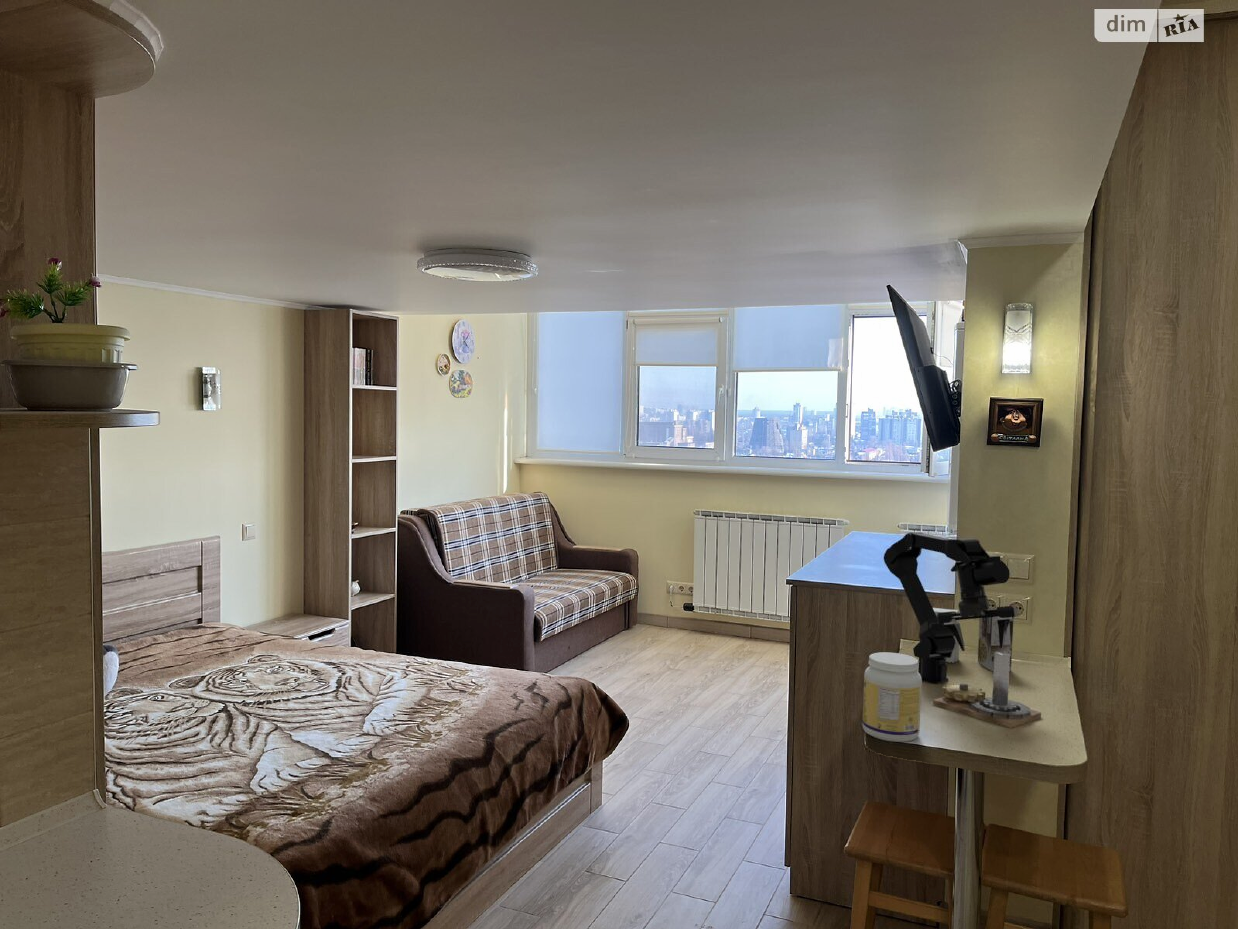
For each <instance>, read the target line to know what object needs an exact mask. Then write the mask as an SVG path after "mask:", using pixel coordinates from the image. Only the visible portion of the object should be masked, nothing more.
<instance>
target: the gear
mask: <svg viewBox="0 0 1238 929" xmlns="http://www.w3.org/2000/svg"><path fill="white" fill-rule="evenodd" d="M1009 664H1010V654H1008V653H1004V652H995V653H994V670H993V676H992V697H991V698H992V699H987V701H986V700H984V701H983V707H985V708H988V709H991V710H995V711H1002V712H1016V710H1017V706H1016V704H1014V703H1010V702H1009V701H1008V700H1009V686H1010V684H1009V682H1010V671H1009Z"/></svg>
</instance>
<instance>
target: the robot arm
mask: <svg viewBox="0 0 1238 929" xmlns="http://www.w3.org/2000/svg"><path fill="white" fill-rule="evenodd" d="M922 549H923V550H927V551H932V552H936V553H942V554H943V555H945V556H946V558H948V559H950V560H951V561H952V560H953V561H955V563H954V565H953V566H952V567H951V568H950V572H952V573H953V572H954V573H955V572H956V573H957V576H958V583H959V590H960V600H959V602H958V605H957V606H958V610H959V613H956V611H951V612H941V613H938V614H937V616H936V614H935V612H934V610H933V608H934V607H933V606H932V603H931V601H930V599H929V597H928V595H927V592H926V591H925V588H924V586H923V584H922V582H921V579H920V577H919V575H918V565H919V562H918V560H917V559H918V558H919V557H920V556H921V554H922ZM883 561H884V565H886V567H887V569H888V571H889V572H890V573H891V574H892V575H893V576H894V577H896V578H897V579H898V580H899V582H900V583H901V585H902V588H903V590H904V593H905V594H906V597H907V599H908V601H909V604H910V605H911V608H912V611H913V612H914V614H915V616H916V619H917V621H918V624H919V626H920V627H919V633H918V637H919V640H920V641H919V642H918V643H917V644H916V645H915V646H914V647H913V648H912V650H913V655H914V656H913V657H915V658H918V666H919V669H918V670H917V672H918V673H919V674H920V675H921V678H922V682H926V683H932V684H935V685H936V684H941V683H944V682H948V681H949V678H948V677H947V675H948V664H947V662H946V659H945V658H950V657H951V655H952V652H953V649H954V646H955V644H956V642H955V638H956V640H957V642H958V643H959V648H960V649H961V651H962V652H965V649H966V648H965V643H964V638H963V633H962V629H961V625H960V622H959V623H958V624H957V623H956V621H957V620H959V621H962V620H971V619H975V620H976V619H979V618H987V617H999V618H1000V620H997V623H998V629H999V643H1000V648H1003V645H1004V640H1005V635H1006V631H1007V628H1008V625H1009V622H1010V621H1013V622H1014V619H1012V617H1014V618H1018V617H1019V616H1020V615H1019V613H1018V612H1019V611H1018V607H1016V606H1015V605H1007V606H997V607H996V609H997V610H988V609H990V603H989V599H988V597H987V595H986V590H985V587H986V586H994V585H1000V584H1005V583H1007V582H1008V581H1009V580H1010V579H1009V578H1010V575H1011V573H1010V569H1009V568H1008V565H1007V564H1006V563H1005V562H1004V561H1003V560H1002V558H1001V556H1000V555H994V556H990V554H988V552H987V551H986V550H985V549H984V548H983V546H982V545H981V543H980V540H979V539H977V538H956V539H955V538H954V539H951V538H948V537H941V536H937V535H933V534H932V535H931V534H927V533H926V534H925V533H924V532H921V531H920V532H919V531H917V532H908V533H906V534H905V535H904V536H903V537H902V538H901V539H899V540H898V541H896V542H893V544H892V545H890V547H888V548H887V549H886V550H885V552H884V554H883ZM982 611H983V612H985V614H981V612H982ZM954 636H955V638H954Z"/></svg>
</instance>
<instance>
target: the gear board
mask: <svg viewBox="0 0 1238 929" xmlns="http://www.w3.org/2000/svg"><path fill="white" fill-rule="evenodd" d="M941 693H942V695H944V696H941V697H938V698H934V699H932V705H933V706H936V705H937V706H936V707H939V708H943V709H947V710H948V711H953V712H957V713H959V714H962V715H966V716H969V715H971V716H970V717H972V716H974V717H973V718H975V717H976V718H977V719H978V720H979V719H980V720H981V721H982V720H983V721H986V722H989V723H992V722H993V723H992V724H996V725H998V726H999V725H1000V726H1002V727H1005V728H1009V729H1012V728H1014V727H1017V726H1022V725H1023V724H1027V723H1028V722H1032V721H1035V720H1038V719H1040V717H1041V718H1042V712H1041V711H1038V710H1033V709H1031V707H1029V706H1028V705H1025V704H1023V703H1021V702H1018V701H1015V700H1011V699H1008V701H1009V702H1010V703H1014V704H1016V706H1017V710H1016V712H1002V711H995V710H991V709H988V708H985V707H983V701H984V700H986V701H987V699H992V697H990V696H989V697H987V696H986V691H985V690H983V689H982V687H981V688H980V687H978V686H977V687H975V686H972V685H971V684H968V683H967V684H966V683H952V684H948V683H947V684H944V685H943V686H942V688H941ZM1026 722H1027V723H1026Z"/></svg>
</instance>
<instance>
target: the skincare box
mask: <svg viewBox="0 0 1238 929" xmlns="http://www.w3.org/2000/svg"><path fill="white" fill-rule="evenodd" d="M932 608H933V610H934V612H935V614H936V616H937V614H938V613H941V612H951V611H956V613H960V610H959V609H949V608H940V607H939V608H938V607H932ZM956 623H957V624H958V623H960V620H957V621H956ZM954 638H955V636H954ZM955 642H956V644H955V646H954V649H953V652H952V655H951V657H950V658H945V659H946V663H951V662H952V663H951V664H953V663H954V662H955V661H956V662H957V661H958V660H959V659H960V645H959V643H958V642H957V640H956V638H955ZM956 662H955V663H956Z"/></svg>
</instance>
